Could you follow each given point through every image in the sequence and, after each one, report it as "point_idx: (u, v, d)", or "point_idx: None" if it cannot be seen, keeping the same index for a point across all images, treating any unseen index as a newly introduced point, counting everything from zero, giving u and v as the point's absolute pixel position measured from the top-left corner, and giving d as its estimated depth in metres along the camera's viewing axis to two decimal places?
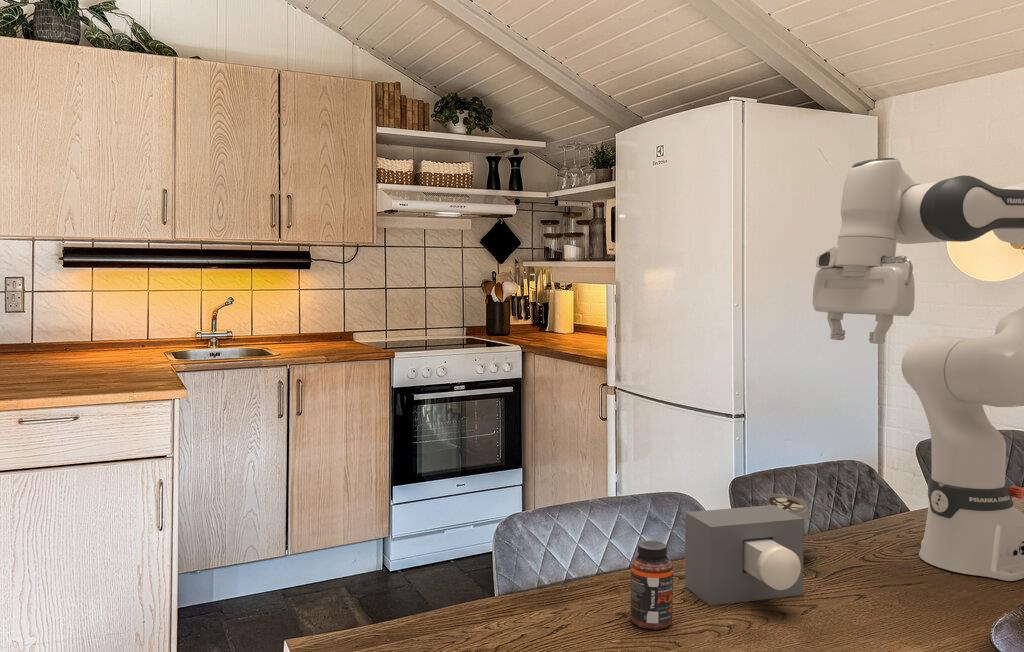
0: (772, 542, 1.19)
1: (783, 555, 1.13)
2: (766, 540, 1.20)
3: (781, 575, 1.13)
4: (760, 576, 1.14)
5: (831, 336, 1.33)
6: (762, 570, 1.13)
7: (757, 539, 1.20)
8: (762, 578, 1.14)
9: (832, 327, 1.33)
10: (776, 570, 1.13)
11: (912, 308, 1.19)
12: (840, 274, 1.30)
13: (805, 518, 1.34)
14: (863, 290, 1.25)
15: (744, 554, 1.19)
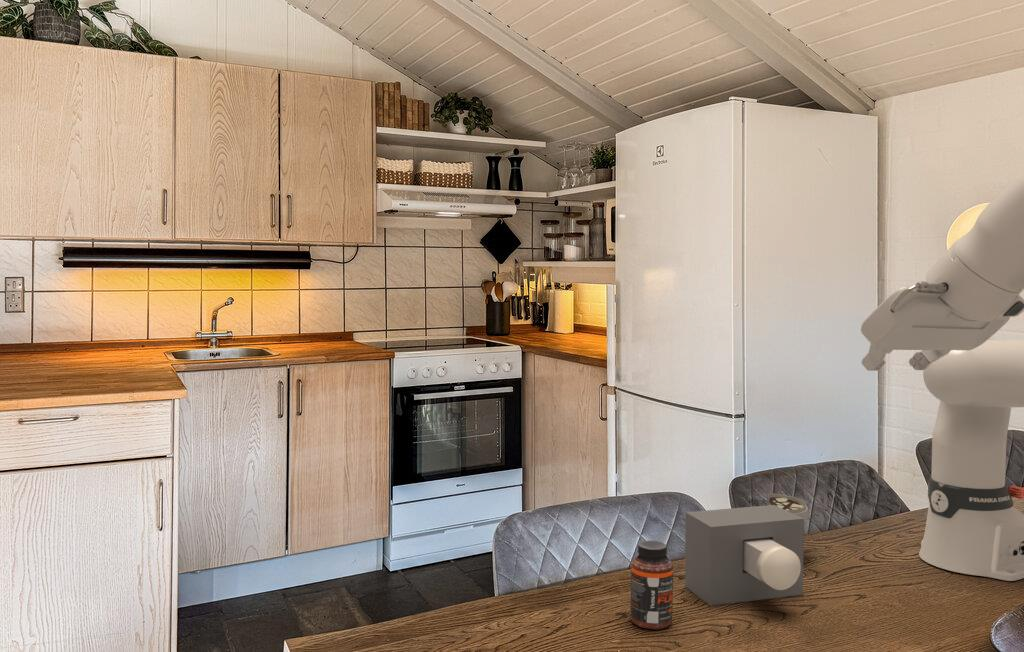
0: (772, 542, 1.19)
1: (783, 555, 1.13)
2: (766, 540, 1.20)
3: (781, 575, 1.13)
4: (760, 576, 1.14)
5: None
6: (762, 570, 1.13)
7: (757, 539, 1.20)
8: (762, 578, 1.14)
9: (922, 350, 1.02)
10: (776, 570, 1.13)
11: (877, 340, 0.91)
12: None
13: (805, 518, 1.34)
14: None
15: (744, 554, 1.19)
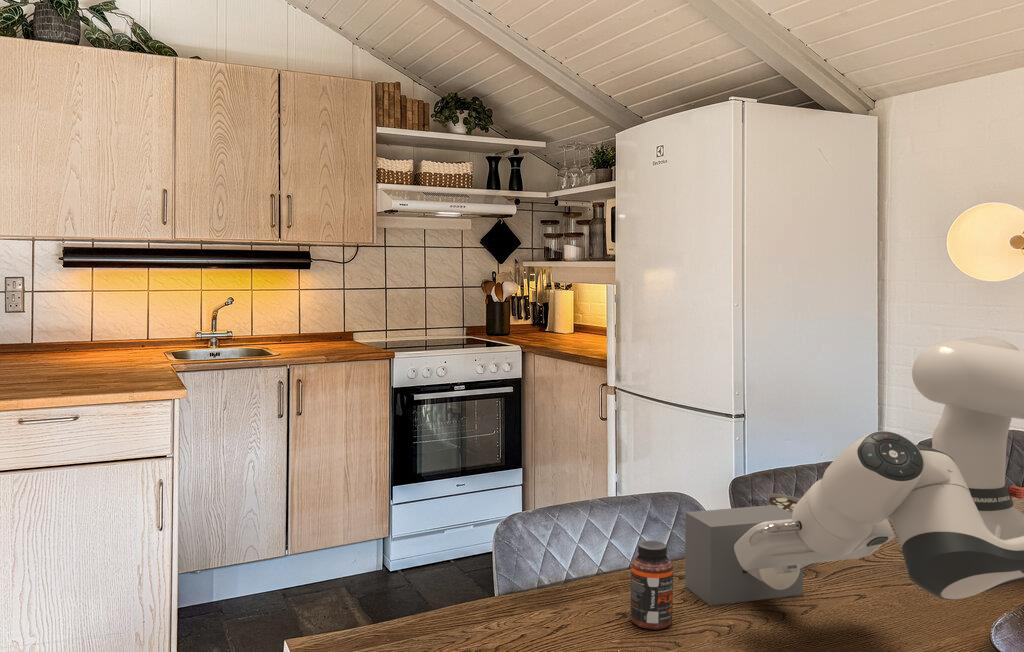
0: None
1: None
2: None
3: (781, 574, 1.14)
4: (760, 576, 1.14)
5: None
6: (761, 570, 1.13)
7: None
8: (762, 578, 1.14)
9: None
10: (775, 570, 1.13)
11: (741, 564, 1.05)
12: None
13: None
14: None
15: None
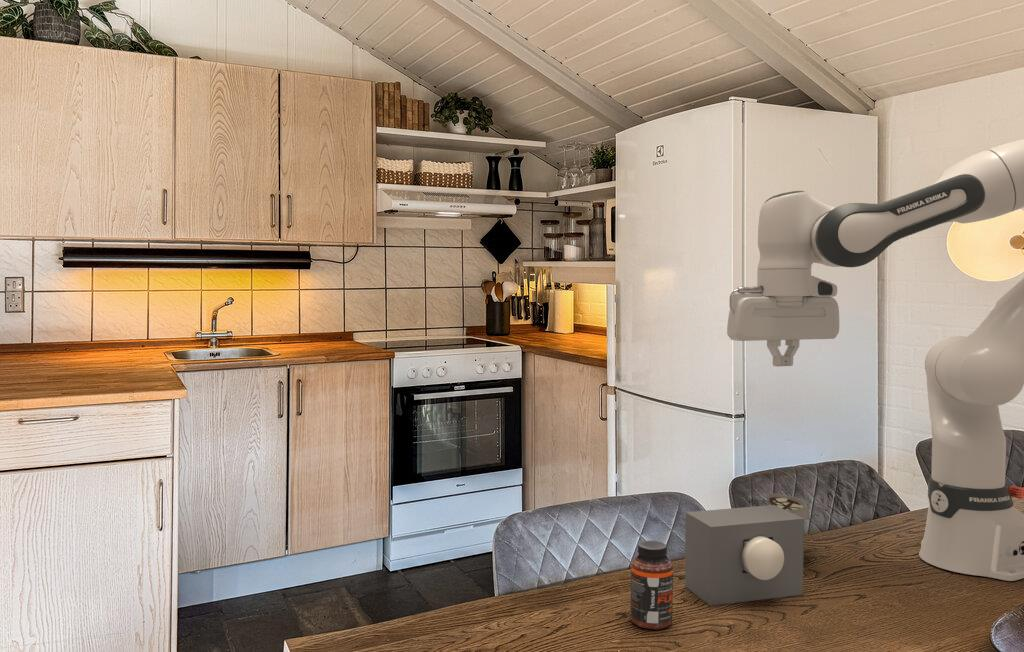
0: None
1: (767, 546, 1.17)
2: None
3: (765, 565, 1.17)
4: (745, 566, 1.18)
5: None
6: (746, 561, 1.17)
7: None
8: (747, 568, 1.18)
9: None
10: (760, 561, 1.17)
11: (735, 333, 1.32)
12: None
13: (805, 518, 1.34)
14: None
15: None
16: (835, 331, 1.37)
